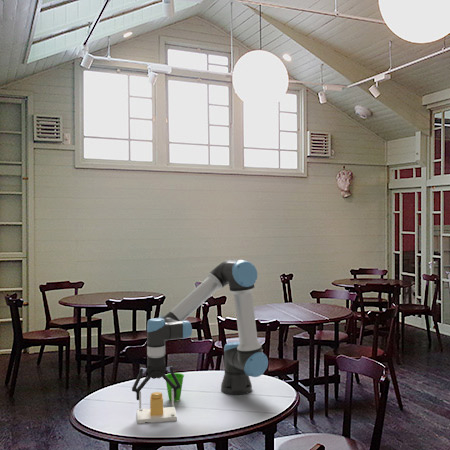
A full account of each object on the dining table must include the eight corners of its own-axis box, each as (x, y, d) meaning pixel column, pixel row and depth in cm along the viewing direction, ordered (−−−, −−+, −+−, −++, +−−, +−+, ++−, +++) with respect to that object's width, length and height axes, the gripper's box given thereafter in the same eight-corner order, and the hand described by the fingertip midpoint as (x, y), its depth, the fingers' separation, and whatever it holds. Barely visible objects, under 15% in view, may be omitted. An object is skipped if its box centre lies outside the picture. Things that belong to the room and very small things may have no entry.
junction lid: (174, 410, 213) (174, 397, 213) (176, 420, 201) (176, 407, 201) (137, 412, 210) (137, 400, 210) (137, 423, 198) (137, 409, 199)
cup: (181, 403, 222) (180, 379, 222) (162, 402, 224) (161, 378, 224) (186, 396, 231) (186, 373, 231) (168, 395, 232) (168, 372, 233)
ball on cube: (162, 410, 209) (162, 391, 209) (163, 414, 204) (163, 395, 204) (150, 411, 208) (150, 392, 208) (150, 415, 203) (150, 396, 203)
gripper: (184, 352, 212) (185, 401, 212) (126, 355, 208) (126, 405, 207) (186, 356, 205) (187, 407, 204) (125, 359, 200) (126, 411, 200)
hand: (156, 406), depth 206 cm, fingers open, 13 cm apart
